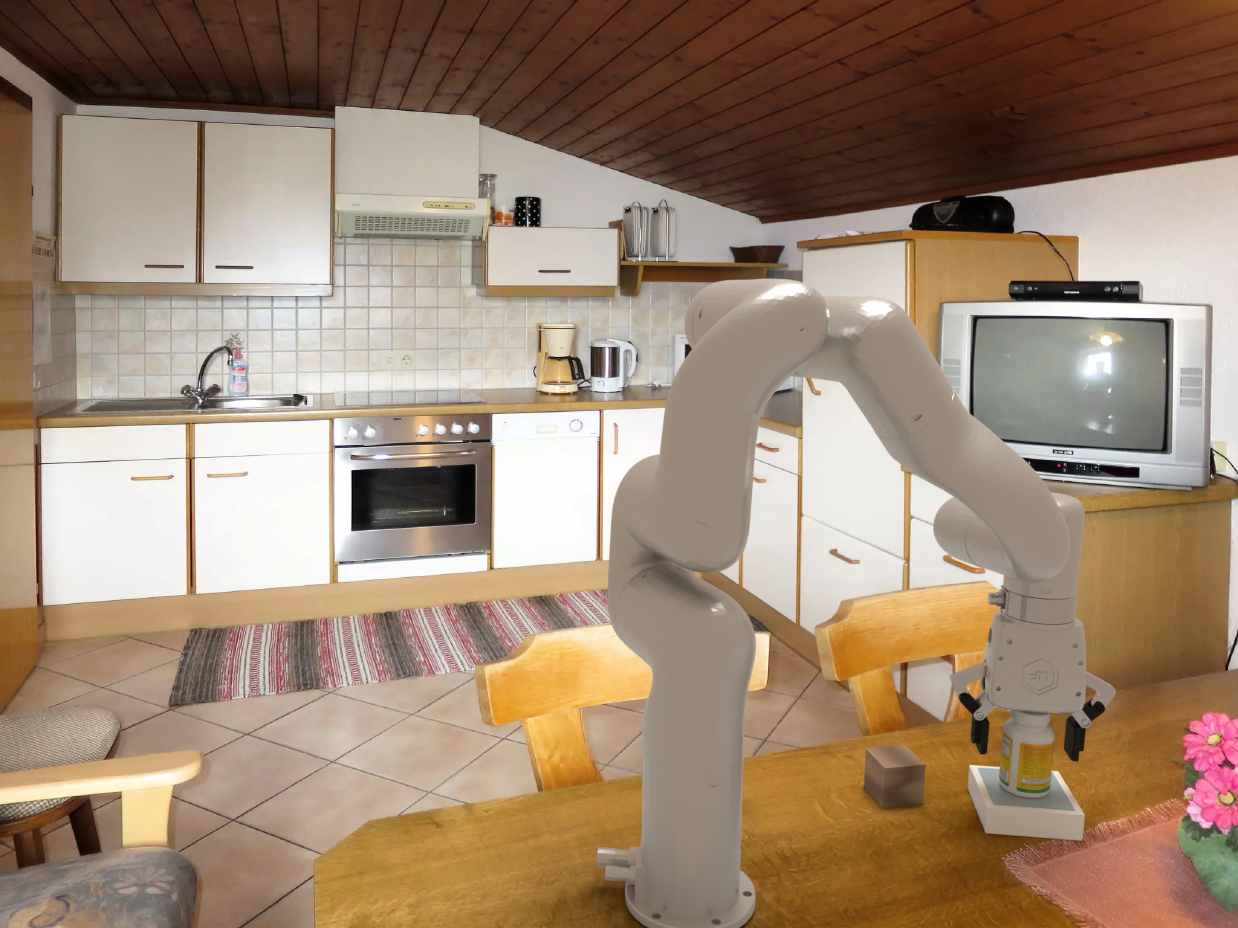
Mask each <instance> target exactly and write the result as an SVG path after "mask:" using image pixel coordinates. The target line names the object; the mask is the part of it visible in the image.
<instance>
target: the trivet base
mask: <svg viewBox="0 0 1238 928" xmlns="http://www.w3.org/2000/svg"><path fill="white" fill-rule="evenodd" d="M999 771H1000V766H986V765H974V764H973V765H972V764H969V766H968V778H967V779H968V782H967V790H968V792H969V795H970V797H971V801H972V802H973V806H974V808H975V810H976V812H977V815H978V818H979V820H980V823H981V825H982V827H983V830H984V833H985V834H992V835H1003V836H1004V835H1006V836H1013V837H1014V836H1016V837H1027V838H1030V837H1031V838H1039V839H1040V838H1042V839H1054V840H1067V841H1079V842H1083V841H1084V839H1083V838H1084V828H1085V820H1086V817H1085V813H1084V811H1083V810H1082V808H1081V806H1080V804H1079V803H1078V802H1077V800H1076V798H1075V796H1074V795H1073V794H1072V791H1071V790H1070V788H1069V787H1068V785H1067V783H1066V782H1065V780H1064V778H1063V776H1062V775H1061V773H1060V772H1059V771H1057V770H1052V774H1051V784H1050V791H1049V793H1048V794H1047V795H1045V796H1044V797H1041V798H1027V797H1020V796H1017V795H1014V794H1011V793H1009V792H1007V791H1006V790H1005V789H1003V788H1002V786H1001V785H1000V783H999Z"/></svg>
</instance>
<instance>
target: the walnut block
mask: <svg viewBox="0 0 1238 928" xmlns="http://www.w3.org/2000/svg"><path fill="white" fill-rule="evenodd" d="M864 758H865V760H864V777H863V778H864V779H863V782H864V783H863V787H864V789H865V790H866V792H868V793H869V795H870V796H871V797H872V798H873V799H874V800H875V802H877V804H878V805H879V806H880V807H881V808H882V809H888V808H899V807H908V806H910V807H911V806H917V805H919V806H920V805H924V796H925V779H926V764H925V762H923V760H922V759H920V758H919V757H918V756H917V755H916V754H915V753H914V751H912V749H910V748H909V747H908V746H906V745H905V744H904V745H903V744H901V745H893V746H890V745H889V746H880V747H878V746H877V747H870V748H869V747H868V748H865V757H864Z"/></svg>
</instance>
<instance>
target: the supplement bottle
mask: <svg viewBox="0 0 1238 928" xmlns="http://www.w3.org/2000/svg"><path fill="white" fill-rule="evenodd" d="M1010 711H1011V712H1010V716H1011V718H1010V719H1008V720H1007V721H1006V722H1005V723H1004V724H1003V729H1002V737H1001V740H1002V741H1001V749H1000V750H1001V751H1000V761H999V762H1000V763H999V767H1000V771H999V783H1000V785H1001V786H1002V788H1003V789H1005V790H1006V791H1007V792H1009V793H1011V794H1014V795H1017V796H1020V797H1027V798H1041V797H1044V796H1045V795H1047V794H1048V793H1049V791H1050V784H1051V774H1052V771H1053V761H1054V750H1055V739H1056V736H1055V732H1054V729H1053V728H1052V726H1050V725H1049V723H1050V722H1051V713H1045V712H1030V711H1016V710H1010Z"/></svg>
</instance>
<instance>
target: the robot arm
mask: <svg viewBox="0 0 1238 928" xmlns="http://www.w3.org/2000/svg"><path fill="white" fill-rule="evenodd" d="M684 334H685V337H686V341H687V343H688V345H689V347H690V348H691V350H690V351H689V353H688V354H687V355H686V357H685V359H683V361H682V363H681V364H680V366H679V368H678V369H677V372H676V374H674V375H675V376H674V378H673V379H672V382H671V385H670V388H669V391H668V394H667V398H666V401H665V407H664V413H663V422H662V431H661V438H660V447H659V454H653V455H650V456H647V457H644V458H642V459H640V460H638V462H636V463H634V465H632V466H631V467H630V468H629V469H628V470H627V472H626V473H625V474H624V476H623V477H622V479H621V481H620V482H619V484H618V487H617V489H616V491H615V494H614V495H615V496H614V499H613V503H612V508H611V516H610V517H611V519H610V535H609V551H608V552H609V555H608V573H607V577H608V578H607V610H608V618H609V621H610V624H611V627H612V629H613V632H614V633H615V634H616V636H617V637H618V639H619V640H620V641H621V642H622V644H624V645H625V646H626V647H627V648H628V649H629V650H630V651H632V652H633V653H634V654H635V655H637V656H638V657H639V658H640V659H641V660H643V662H644V663H645V664H646V665H647V666H649V667H650V669H651V673H652V679H651V680H652V681H651V687H650V691H649V694H648V698H647V699H646V703H645V707H644V711H643V718H642V726H641V751H642V755H641V756H642V762H641V764H642V765H641V766H642V767H641V768H642V772H641V777H642V778H641V784H642V785H641V787H642V788H641V839H640V843H639V847H637V846H630V848H629V849H617V848H615V847H603V846H598V848H597V852H596V854H597V855H596V868H599V869H605V871H604V880H605V881H610V882H625V888H624V899H625V905H626V907H627V909H628V911H629V913H630V914H631V915H632V917H634V919H635V920H636V921H638V922H639V923H640V924H642V925H643V926H645V928H741V927H742V926H743V925H745V924H746V923H747V922H748V921H749V920H750V919H751V918H752V915H753V914H754V911H755V910H756V901H757V897H756V894H757V893H756V888H755V886H754V883H753V881H752V880H751V879H750V877H749V876H748V875H747V874H746V873H745V872H744V871H743V869H741V854H742V853H741V851H742V848H741V847H742V819H743V815H742V814H743V786H744V784H743V781H744V780H743V778H744V777H743V776H744V774H743V773H744V738H745V737H744V736H745V735H744V734H745V732H744V731H745V717H746V706H747V697H748V692H749V691H748V690H749V686H750V681H751V679H752V674H753V670H754V665H755V660H756V653H757V640H756V639H757V638H756V633H755V629H754V626H753V623H752V621H751V619H750V616H749V615H748V613H747V612H746V610H744V609H743V607H742V606H741V605H740V603H739V602H738V601H736V600H735V599H734V598H733V597H732V596H730V595H729V594H728V593H727V592H725V591H724V590H722V589H720V588H718V587H717V586H715V585H713V584H711V583H710V582H708V581H706V580H705V579H702V578H700V577H697V576H696V573H701V574H716V573H721V572H723V571H725V570H727V569H729V568H731V567H732V566H733V565H734V564H735V563H737V562H738V561H739V559H740V558H741V556H742V554H743V553H744V551H745V549H746V547H747V543H748V539H749V535H750V534H749V533H750V525H751V515H752V501H753V500H752V499H753V487H754V486H753V483H754V473H755V472H754V471H755V459H756V457H755V455H756V448H757V447H756V446H757V441H758V440H757V439H758V433H759V427H760V421H761V418H762V415H763V413H764V411H765V408H766V406H767V405H768V403H769V401H770V399H772V396H774V394H775V393H776V391H777V390H778V389H779V388H780V387H781V386H782V384H784V383H785V382H786V381H788V379H789V378H791V377H795V378H805V379H806V378H807V379H816V380H824V381H830V382H835V383H837V382H838V383H840V384H841V385H842V386H843V387H844V388H845V389H846V391H847V393H849V395H850V397H851V398H852V400H853V401H854V403H855V404H856V406H857V408H858V409H859V410H860V412H861V413H862V415H863V416H864V418H865V419H866V421H867V422H868V424H869V425H870V426H871V428H872V429H873V431H874V433H875V435H876V436H877V438H878V439H879V441H880V443H881V444H882V445H883V447H884V449H885V450H886V451H887V453H888V455H889V456H890V457H891V459H893V460H895V461H896V462H897V463H898V464H900V465H901V466H903V467H904V468H905V469H907V471H909V472H911V473H912V474H914V475H915V476H917V477H919V478H920V479H922V480H924V481H926V482H928V483H929V484H931V485H933V486H935V487H937V488H939V489H940V490H942V491H943V492H946V493H947V494H949V496H951V498H949V499H948V500H946V501H945V502H944V503H943V504H942V505H941V506H940V507H939V508H938V510H937V511H936V513H935V516H934V519H933V526H932V527H933V528H932V529H933V535H934V538H935V541H936V542H937V544H938V545H939V547H940V548H941V549H942V550H943V551H944V552H945V553H946V554H948V555H949V556H951V557H952V558H955V559H957V560H959V561H961V562H964V563H967V564H970V565H972V566H976V567H978V568H981V569H985V570H988V571H990V572H991V571H992V572H994V573H996V574H999V575H1002V576H1003V580H1002V585H1000V589H999V591H996V592H989V593H988V594H987V604H988V605H989V606H995V607H998V608H999V609H1000V610H996V611H995V612H994V615H993V617H992V620H991V623H990V627H989V630H988V634H987V639H986V645H985V650H984V655H983V661H982V662H979V663H977V664H974V665H972V666H969V667H966V668H964V669H961V670H959V671H956V672H955V673H951V674H950V675H949V681H950V683H951V684H952V688H953V689H954V691H955V693H956V695H957V698H958V700H959V702H960V703H961V704H962V705H963V707H964V708H965V709H966V710H968V712H970V714H971V723H970V724H971V727H970V742H971V744H974V745H975V747H976V748H977V751H978V753H979V754H980V755H986V754H988V749H989V735H990V734H989V733H990V720H989V719H988V717H987V716H988V715H990V714H991V713H992V711H994V710H995V709H996V708H998V709H1001V710H1008V711H1011V710H1016V711H1030V712H1045V713H1050V714H1060V715H1061V714H1063V715H1066V714H1067V715H1068V714H1070V715H1068V716H1067V718H1066V719H1065V728H1064V729H1065V731H1064V740H1063V750H1064V751H1065V754H1066V755H1067V756H1068V758H1069V760H1070V761H1072V762H1076V763H1078V762H1079V760H1080V752H1084V750H1085V743H1086V731H1087V730H1086V729H1088V728H1089V727H1090V726H1091V725H1092V722H1093V721H1094V720H1096V719H1097V718H1098V717H1100V716H1101V715H1103V714H1104V713H1105V711H1106V707H1107V706H1109V704H1110V703H1111V701H1112V700H1113V698H1114V697H1115V695H1116V694H1117V691H1116V689H1115V687H1114V686H1112V684H1111V683H1108V682H1106V681H1105V680H1103V679H1101V678H1100V677H1098V676H1096V675H1094V674H1092V673H1091V672H1089V671H1087V649H1086V636H1085V635H1086V634H1085V628H1084V623H1083V622H1082V621H1081V620H1079V619H1078V618H1077V617H1076V612H1077V603H1078V590H1079V581H1080V573H1081V572H1080V569H1081V562H1082V561H1081V559H1082V558H1081V557H1082V552H1083V551H1082V549H1083V538H1084V528H1085V514H1086V513H1085V507H1084V505H1083V503H1082V502H1081V501H1080V500H1079V499H1078V498H1076V497H1074V496H1072V495H1068V494H1064V493H1059V492H1051V491H1050V490H1049V488H1048V486H1047V484H1046V483H1045V481H1044V480H1043V478H1042V477H1041V476H1040V475H1039V474H1038V473H1037V471H1036V470H1035V469H1034V468H1033V467H1032V466H1031V465H1030V464H1029V463H1028V462H1027V461H1026V460H1025V459H1024V458H1023V457H1022V456H1021V455H1020V454H1018V452H1016V451H1015V450H1014V449H1013V448H1011V446H1010V445H1008V444H1007V443H1006V442H1005V441H1003V440H1002V439H1001V438H1000V437H999V436H997V435H996V433H994V432H993V431H992V430H991V429H990V428H989V427H987V426H986V425H985V424H984V423H983V422H981V421H980V420H979V419H978V418H976V417H975V416H974V415H972V414H971V413H970V412H969V411H968V410H967V408H966V407H965V405H964V404H963V403H962V401H961V400H960V398H959V396H958V395H957V393H956V391H955V389H954V388H953V385H952V384H951V383H950V380H949V379H948V378H947V376H946V374H945V372H944V371H943V369H942V367H941V366H940V364H939V363H938V361H937V359H936V358H935V357H934V355H933V353H932V351H931V350H930V347H929V346H928V344H927V342H926V341H925V340H924V338H923V337H922V335H921V333H920V331H919V329H918V328H917V326H916V325H915V323H914V321H913V320H912V319H911V316H909V314H908V312H906V311H905V309H904V308H903V307H901V306H900V305H899V304H898V303H896V302H894V301H892V300H889V299H886V298H884V297H883V298H882V297H877V296H876V297H875V296H839V295H838V296H837V295H836V296H835V295H833V296H831V295H830V296H826V295H822V294H821V293H820V292H819V291H818V290H817V289H816V288H815V287H812V286H811V285H809V284H807V283H806V282H805V283H804V282H802V281H798V280H794V279H787V278H755V279H727V280H726V279H725V280H721V281H715V282H714V283H713V282H712V283H711V284H708V285H707V286H705V287H703V288H702V289H701V290H699V292H698V293H696V295H695V296H694V297H693V298H692V300H691V301H690V303H689V305H688V307H687V309H686V313H685V317H684ZM980 679H981V680H980ZM978 680H980V681H981V682H980V683H981V689H982V691H981V692H980V693H979V694H977V695H976V696H975V697H973V696H972V694H970V692H969V691H968V690H967V687H968V686H967V685H969V684H971V683H974V682H976V681H978ZM1087 687H1088V688H1090V689H1092V690H1093V691H1095V694H1094V697H1091V698H1090V699H1089V700H1088V701H1087V702H1086V696H1087V695H1086V694H1087Z"/></svg>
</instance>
